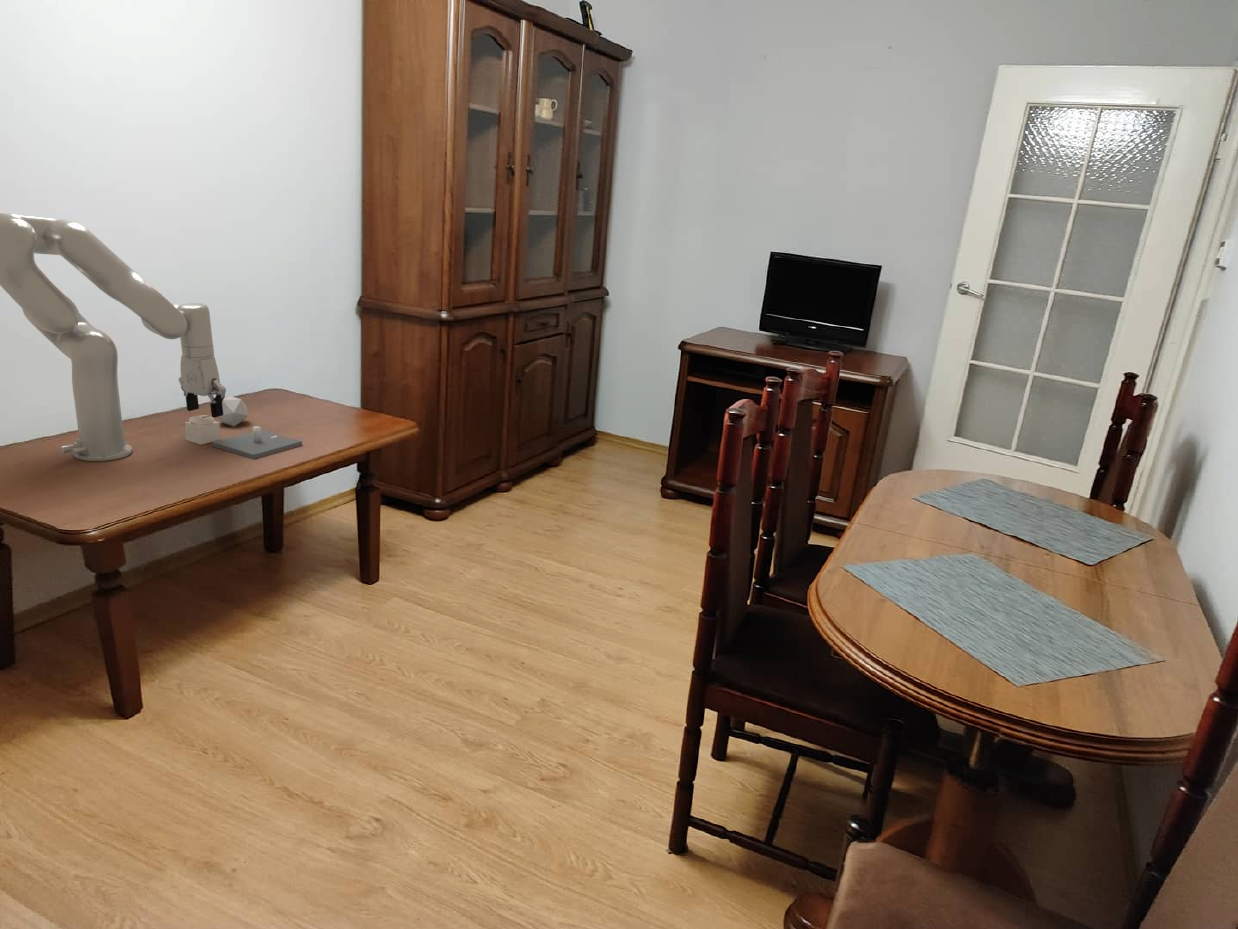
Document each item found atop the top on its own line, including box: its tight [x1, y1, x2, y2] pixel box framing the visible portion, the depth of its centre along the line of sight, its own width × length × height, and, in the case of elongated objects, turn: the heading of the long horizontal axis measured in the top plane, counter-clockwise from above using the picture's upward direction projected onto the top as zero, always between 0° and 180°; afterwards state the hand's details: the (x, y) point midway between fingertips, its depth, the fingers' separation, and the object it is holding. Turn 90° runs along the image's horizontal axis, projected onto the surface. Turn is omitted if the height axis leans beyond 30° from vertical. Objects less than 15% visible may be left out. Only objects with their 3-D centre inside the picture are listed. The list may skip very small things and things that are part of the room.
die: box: [217, 395, 249, 427], centre depth 238 cm, size 8×9×10 cm
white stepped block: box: [184, 414, 221, 446], centre depth 222 cm, size 6×6×6 cm
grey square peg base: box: [211, 426, 303, 460], centre depth 222 cm, size 16×16×5 cm
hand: (205, 413), depth 222 cm, fingers open, 9 cm apart
